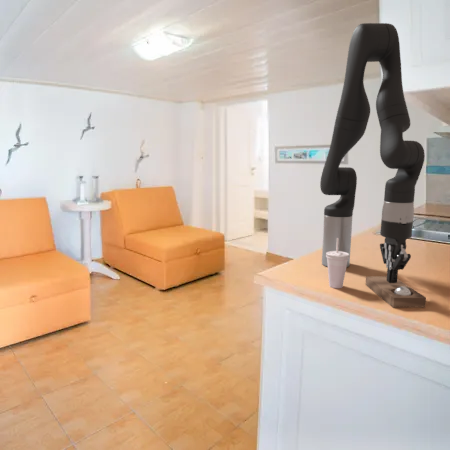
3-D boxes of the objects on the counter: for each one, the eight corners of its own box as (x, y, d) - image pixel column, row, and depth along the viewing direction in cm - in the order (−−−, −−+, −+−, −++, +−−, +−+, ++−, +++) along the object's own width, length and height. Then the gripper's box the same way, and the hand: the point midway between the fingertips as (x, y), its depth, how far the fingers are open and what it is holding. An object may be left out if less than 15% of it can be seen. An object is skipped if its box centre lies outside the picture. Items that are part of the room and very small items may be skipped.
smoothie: (343, 282, 110) (345, 236, 108) (350, 289, 104) (353, 240, 102) (321, 282, 110) (323, 236, 108) (328, 290, 104) (330, 241, 101)
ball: (392, 283, 96) (399, 291, 92) (407, 283, 96) (415, 291, 92) (389, 296, 98) (397, 305, 94) (405, 296, 98) (412, 305, 94)
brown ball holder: (365, 284, 108) (366, 276, 108) (392, 284, 109) (393, 276, 108) (393, 307, 92) (393, 297, 91) (425, 307, 92) (426, 297, 91)
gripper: (372, 214, 104) (367, 274, 107) (394, 223, 91) (389, 291, 94) (399, 214, 104) (393, 274, 107) (425, 223, 91) (418, 291, 94)
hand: (391, 282), depth 100 cm, fingers closed
